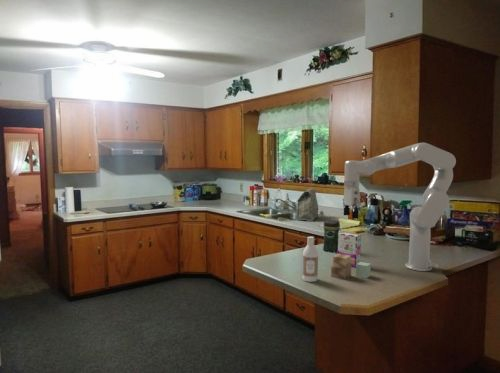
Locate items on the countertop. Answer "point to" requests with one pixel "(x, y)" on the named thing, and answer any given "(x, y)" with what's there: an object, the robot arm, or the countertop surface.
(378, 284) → the countertop surface
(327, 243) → the coffee jar
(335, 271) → the walnut base
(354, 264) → the candy bar box
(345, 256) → the oak top
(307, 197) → the bag
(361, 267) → the sage block
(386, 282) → the countertop surface
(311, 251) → the bath foam
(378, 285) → the countertop surface
